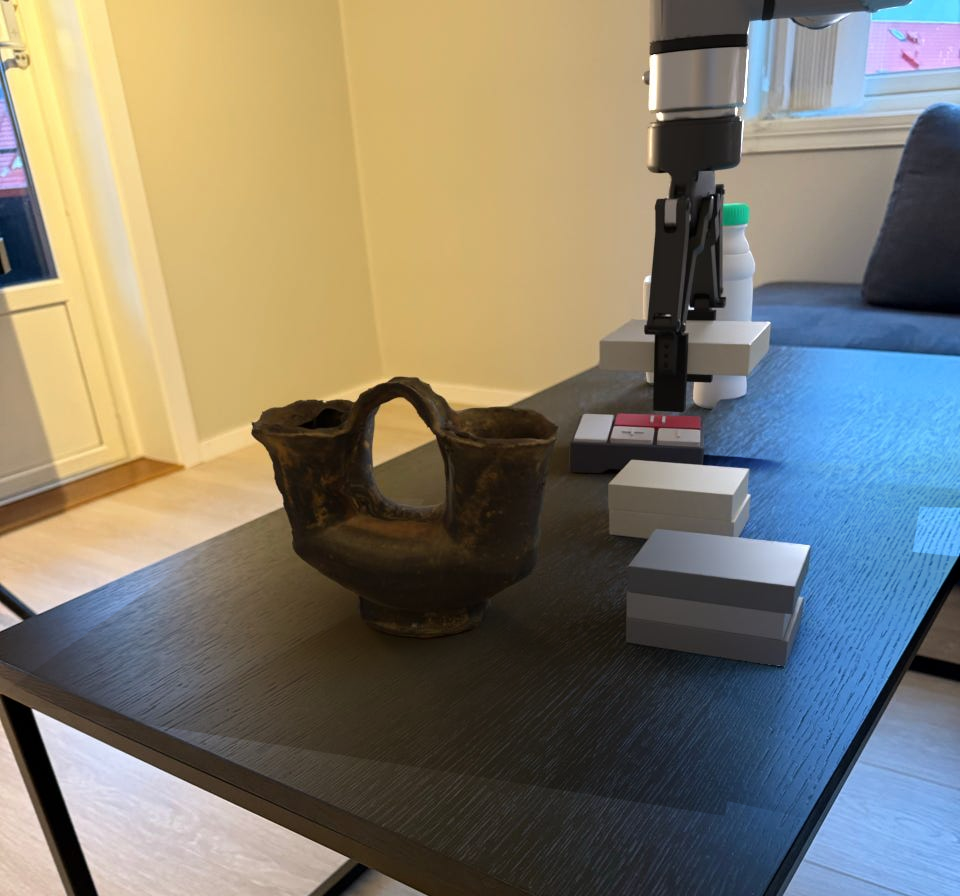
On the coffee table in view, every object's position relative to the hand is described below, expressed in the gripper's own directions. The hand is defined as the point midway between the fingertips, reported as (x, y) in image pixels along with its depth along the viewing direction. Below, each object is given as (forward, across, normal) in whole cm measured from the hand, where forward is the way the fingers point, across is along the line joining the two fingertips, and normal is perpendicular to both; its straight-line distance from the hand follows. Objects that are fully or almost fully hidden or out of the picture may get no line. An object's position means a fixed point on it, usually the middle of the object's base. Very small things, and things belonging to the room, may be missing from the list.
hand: (684, 395), depth 85 cm
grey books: (+13, +20, +8) cm, 25 cm away
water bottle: (+13, -44, -6) cm, 46 cm away
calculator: (+13, -19, -10) cm, 25 cm away
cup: (+13, -54, -16) cm, 58 cm away
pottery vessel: (+13, +24, -16) cm, 32 cm away
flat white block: (-3, 0, 0) cm, 3 cm away
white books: (+13, 0, 0) cm, 13 cm away
